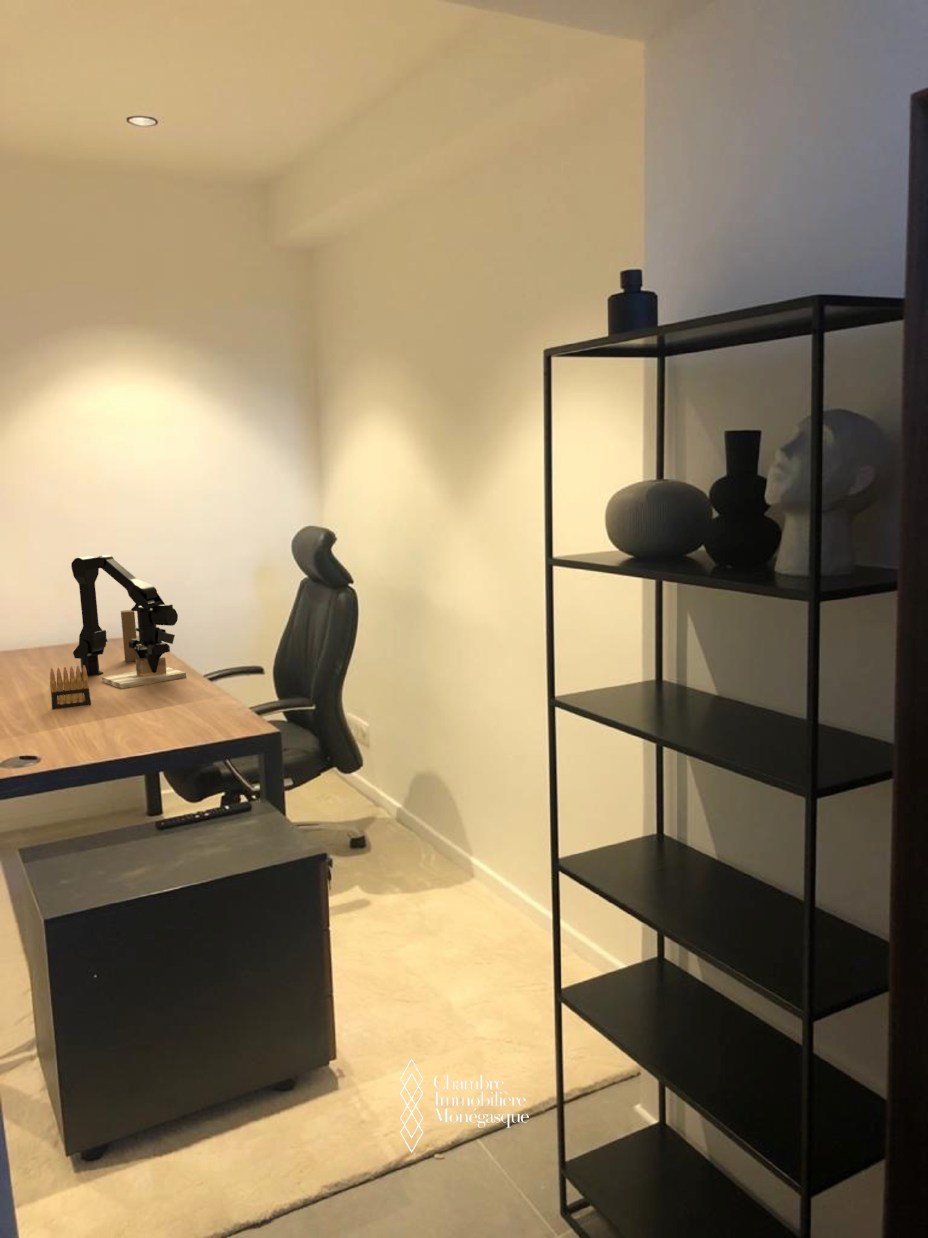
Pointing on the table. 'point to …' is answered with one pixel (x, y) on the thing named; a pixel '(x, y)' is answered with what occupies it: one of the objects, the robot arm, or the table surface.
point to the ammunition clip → (69, 689)
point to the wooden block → (128, 634)
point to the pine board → (142, 678)
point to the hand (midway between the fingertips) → (150, 671)
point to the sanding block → (145, 669)
